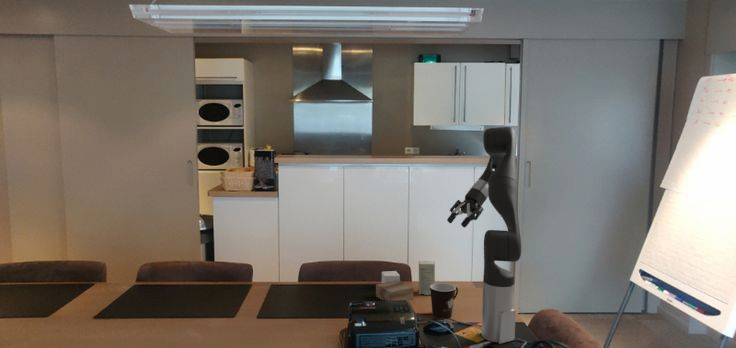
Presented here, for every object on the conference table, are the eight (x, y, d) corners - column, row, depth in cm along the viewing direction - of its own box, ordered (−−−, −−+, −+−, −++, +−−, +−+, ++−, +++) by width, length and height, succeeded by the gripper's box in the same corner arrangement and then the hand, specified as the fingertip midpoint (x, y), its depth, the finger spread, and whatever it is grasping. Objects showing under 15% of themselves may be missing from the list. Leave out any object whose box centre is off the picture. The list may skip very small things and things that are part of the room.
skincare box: (434, 291, 194) (435, 261, 193) (434, 295, 190) (435, 264, 189) (417, 290, 195) (418, 260, 194) (417, 294, 191) (418, 263, 189)
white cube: (381, 286, 200) (381, 271, 200) (395, 285, 202) (396, 270, 201) (384, 291, 195) (385, 276, 194) (399, 290, 196) (400, 275, 195)
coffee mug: (435, 321, 165) (436, 292, 164) (425, 311, 174) (426, 284, 172) (467, 318, 168) (468, 289, 167) (456, 309, 177) (457, 281, 176)
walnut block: (413, 300, 185) (413, 287, 184) (390, 305, 180) (390, 292, 179) (397, 292, 193) (397, 280, 193) (375, 297, 188) (375, 284, 188)
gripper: (462, 185, 205) (439, 214, 201) (486, 189, 193) (462, 221, 189) (471, 196, 209) (449, 226, 204) (496, 202, 196) (472, 233, 192)
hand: (455, 224), depth 196 cm, fingers open, 8 cm apart
